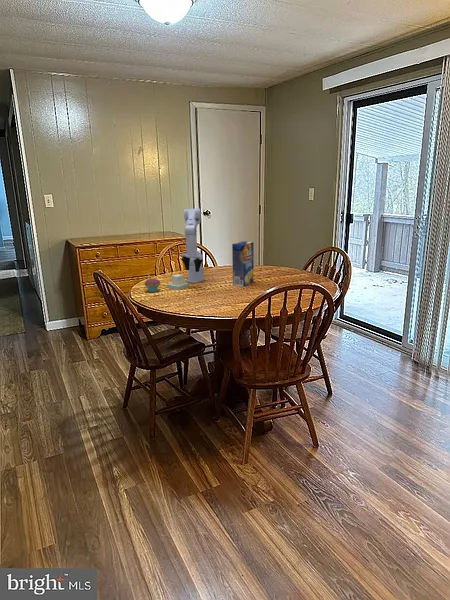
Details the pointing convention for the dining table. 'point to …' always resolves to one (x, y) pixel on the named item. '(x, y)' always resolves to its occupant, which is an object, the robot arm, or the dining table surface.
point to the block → (177, 279)
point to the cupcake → (152, 284)
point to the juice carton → (243, 263)
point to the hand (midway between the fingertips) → (192, 270)
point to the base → (178, 286)
